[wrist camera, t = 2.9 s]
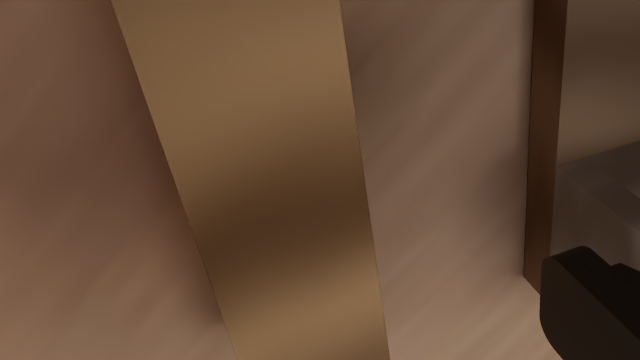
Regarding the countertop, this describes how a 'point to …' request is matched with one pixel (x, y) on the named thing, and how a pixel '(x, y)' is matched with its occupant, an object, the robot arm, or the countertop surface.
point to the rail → (266, 168)
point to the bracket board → (584, 133)
